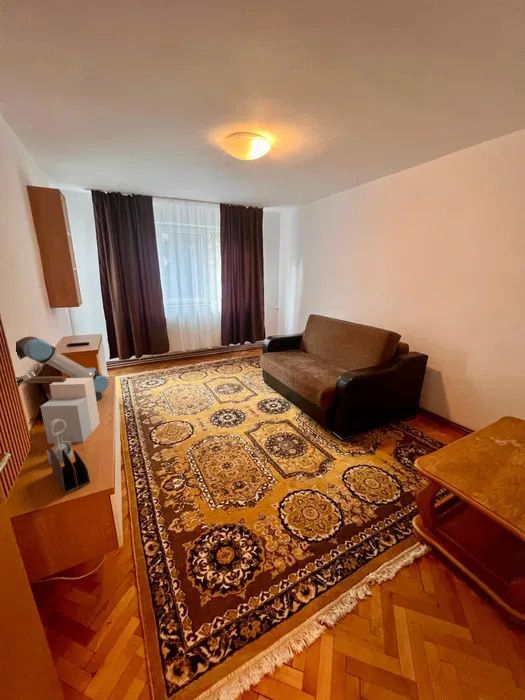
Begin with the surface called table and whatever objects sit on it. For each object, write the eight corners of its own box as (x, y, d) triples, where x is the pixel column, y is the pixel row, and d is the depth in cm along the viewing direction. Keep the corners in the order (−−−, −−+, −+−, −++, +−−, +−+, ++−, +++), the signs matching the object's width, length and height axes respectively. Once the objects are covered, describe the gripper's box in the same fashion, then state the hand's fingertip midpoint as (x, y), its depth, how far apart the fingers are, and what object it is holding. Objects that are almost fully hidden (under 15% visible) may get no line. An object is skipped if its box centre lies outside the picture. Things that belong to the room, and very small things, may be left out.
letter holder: (64, 495, 118) (58, 466, 114) (52, 473, 131) (47, 446, 127) (90, 483, 125) (86, 455, 121) (77, 463, 138) (72, 437, 134)
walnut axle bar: (17, 381, 148) (16, 377, 148) (66, 380, 151) (65, 376, 150) (13, 383, 146) (12, 379, 145) (63, 382, 148) (62, 377, 147)
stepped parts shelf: (68, 424, 172) (60, 378, 164) (99, 423, 174) (92, 377, 166) (48, 443, 153) (37, 392, 145) (83, 442, 155) (74, 391, 147)
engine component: (43, 462, 137) (60, 465, 136) (35, 425, 132) (53, 427, 130) (62, 449, 148) (79, 452, 146) (55, 414, 142) (72, 416, 141)
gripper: (10, 396, 156) (46, 375, 155) (-14, 409, 141) (25, 386, 140) (0, 385, 154) (36, 364, 153) (-25, 397, 139) (14, 374, 138)
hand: (31, 374), depth 147 cm, fingers closed on walnut axle bar, 3 cm apart
